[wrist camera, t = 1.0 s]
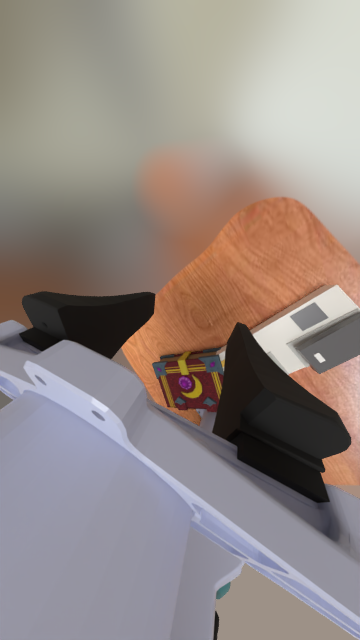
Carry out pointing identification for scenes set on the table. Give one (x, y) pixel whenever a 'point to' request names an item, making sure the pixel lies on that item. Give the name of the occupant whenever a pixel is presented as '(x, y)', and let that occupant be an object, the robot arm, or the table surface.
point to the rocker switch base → (300, 326)
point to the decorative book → (191, 379)
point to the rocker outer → (333, 345)
